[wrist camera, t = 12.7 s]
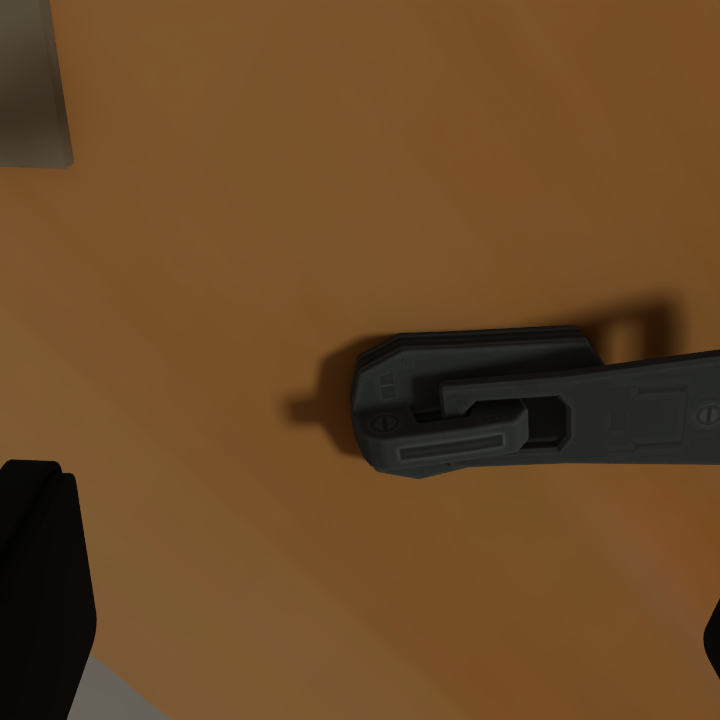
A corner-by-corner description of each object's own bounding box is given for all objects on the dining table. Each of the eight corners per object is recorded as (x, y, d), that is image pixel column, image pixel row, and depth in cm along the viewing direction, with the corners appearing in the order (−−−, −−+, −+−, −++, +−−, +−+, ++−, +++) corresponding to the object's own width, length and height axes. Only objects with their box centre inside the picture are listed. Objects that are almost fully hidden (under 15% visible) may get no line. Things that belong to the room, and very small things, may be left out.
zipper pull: (827, 475, 37) (367, 539, 38) (760, 407, 43) (362, 464, 44) (863, 328, 33) (342, 405, 34) (782, 275, 38) (340, 341, 39)
